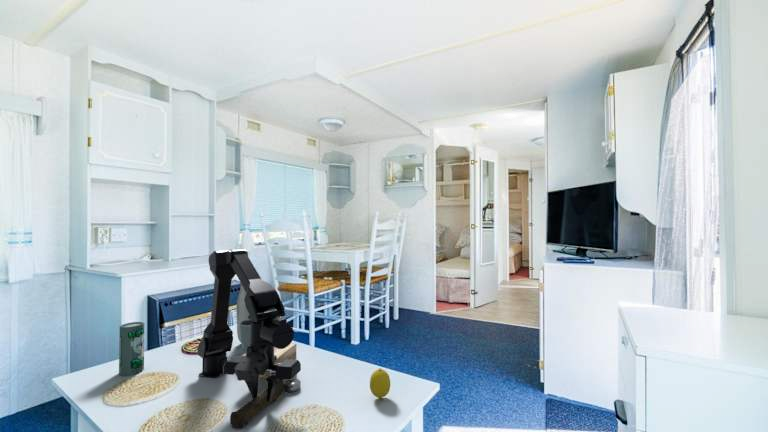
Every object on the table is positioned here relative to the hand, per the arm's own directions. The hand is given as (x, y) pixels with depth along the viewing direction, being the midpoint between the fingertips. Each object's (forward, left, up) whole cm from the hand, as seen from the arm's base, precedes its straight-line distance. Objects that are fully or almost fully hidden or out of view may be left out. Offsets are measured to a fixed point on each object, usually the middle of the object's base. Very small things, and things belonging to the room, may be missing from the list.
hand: (262, 400), depth 86 cm
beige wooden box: (-6, +14, -2) cm, 15 cm away
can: (-53, +13, -2) cm, 55 cm away
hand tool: (-1, +1, -2) cm, 3 cm away
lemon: (+29, +11, -2) cm, 30 cm away
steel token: (+3, +11, -2) cm, 12 cm away
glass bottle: (-30, +43, -2) cm, 52 cm away
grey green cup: (-22, +33, -2) cm, 40 cm away
